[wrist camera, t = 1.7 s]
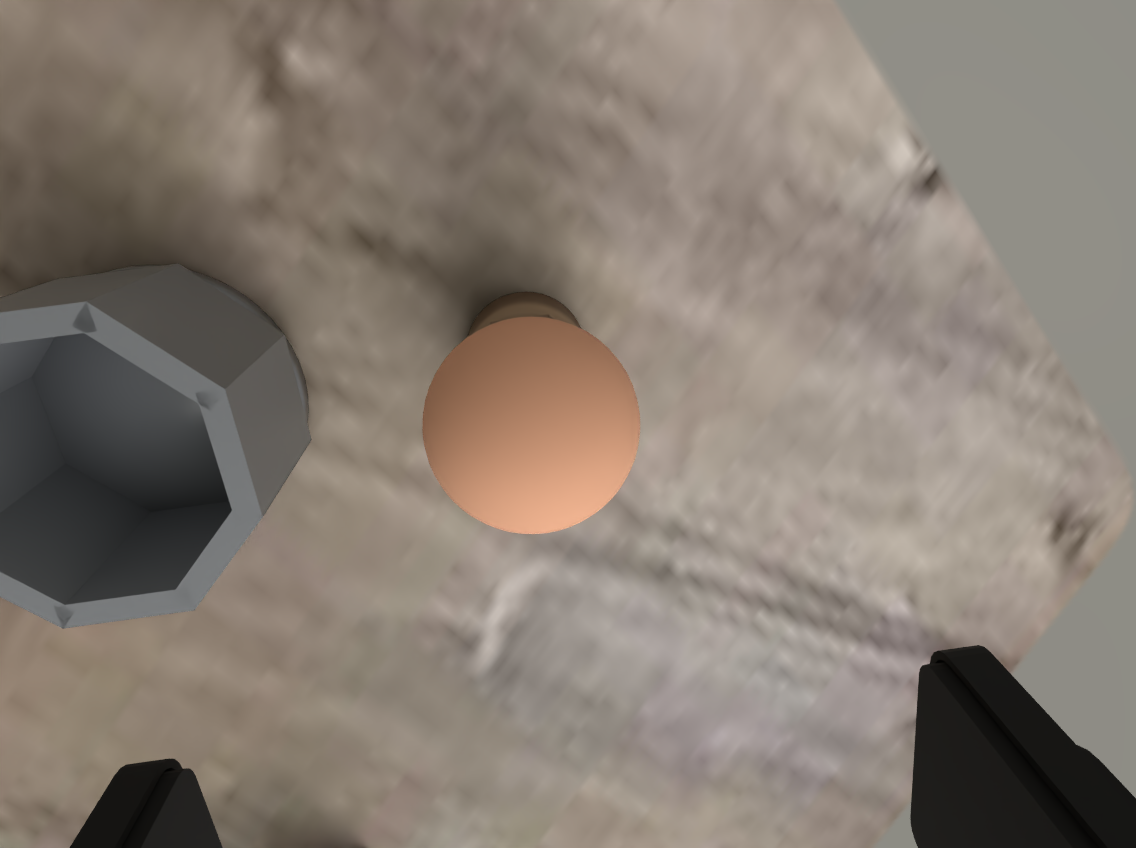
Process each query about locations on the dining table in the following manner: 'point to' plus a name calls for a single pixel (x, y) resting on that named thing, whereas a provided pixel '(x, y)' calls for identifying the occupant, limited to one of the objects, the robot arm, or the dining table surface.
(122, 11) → the dining table surface
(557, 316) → the stand
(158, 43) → the dining table surface
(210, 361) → the grey octagonal pot
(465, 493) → the ball
